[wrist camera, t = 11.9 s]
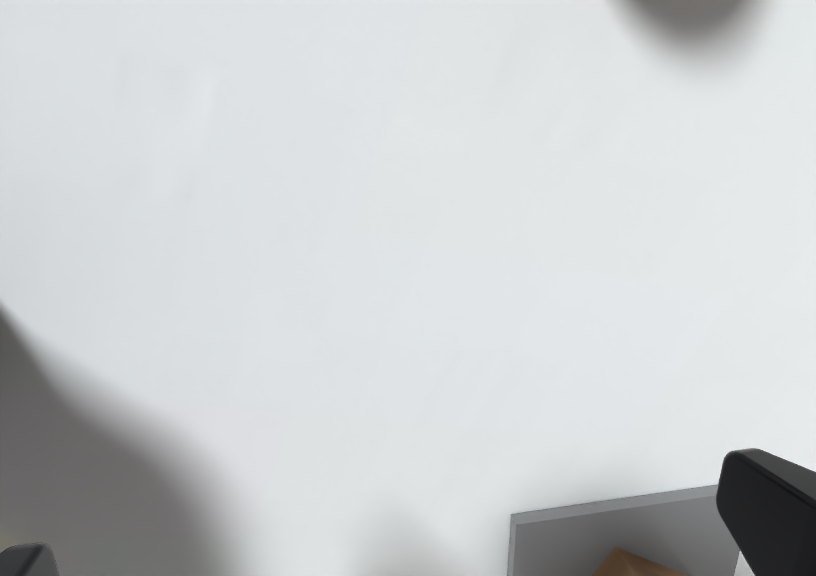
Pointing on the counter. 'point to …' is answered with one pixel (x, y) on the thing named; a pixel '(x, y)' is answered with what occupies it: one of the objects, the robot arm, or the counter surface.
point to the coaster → (625, 535)
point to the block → (631, 566)
